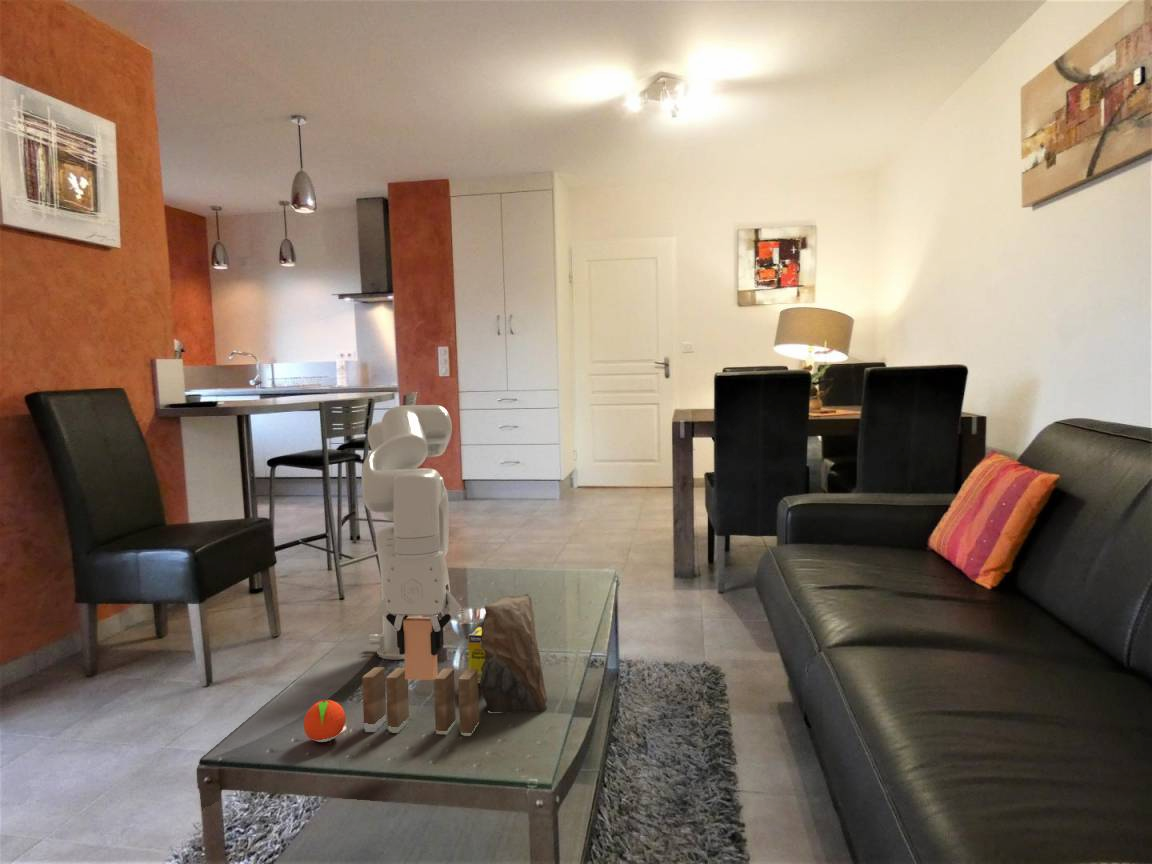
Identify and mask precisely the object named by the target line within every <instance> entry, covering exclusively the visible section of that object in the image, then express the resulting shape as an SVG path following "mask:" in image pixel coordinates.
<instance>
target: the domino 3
mask: <svg viewBox="0 0 1152 864" xmlns="http://www.w3.org/2000/svg"><path fill="white" fill-rule="evenodd" d="M403 627H404V642H405V654H404V658H405V659H404V668H405V679H408V680H412V681H413V680H415V681H416V680H418V681H419V680H420V681H422V680H423V681H434V679H435V678H436V677H437V676H438V674H439V673H438V670H439V669H438V653H437V654H436V655H432V654H431V635H430V634H431V632H432V631H433V626H432V622H431V619H430V616H428V617H427V616H422V617H407V618H406V619H405V620H403Z"/></svg>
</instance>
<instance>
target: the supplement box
mask: <svg viewBox="0 0 1152 864" xmlns="http://www.w3.org/2000/svg"><path fill="white" fill-rule="evenodd" d="M481 635H482V626H481V627H480V626H478V627H477V628H476V629H475V630H473V631H472V632H471V633H469V634H468V636H467V638H468V639H467V641H468V642H467V643H468V644H467V645H468V669H478V688H479V687H480V688H481V686H480V680H481V677H482V671H481V667H482V666H483V663H484V661H485V652H484V650H483V649H482V639H481Z"/></svg>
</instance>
